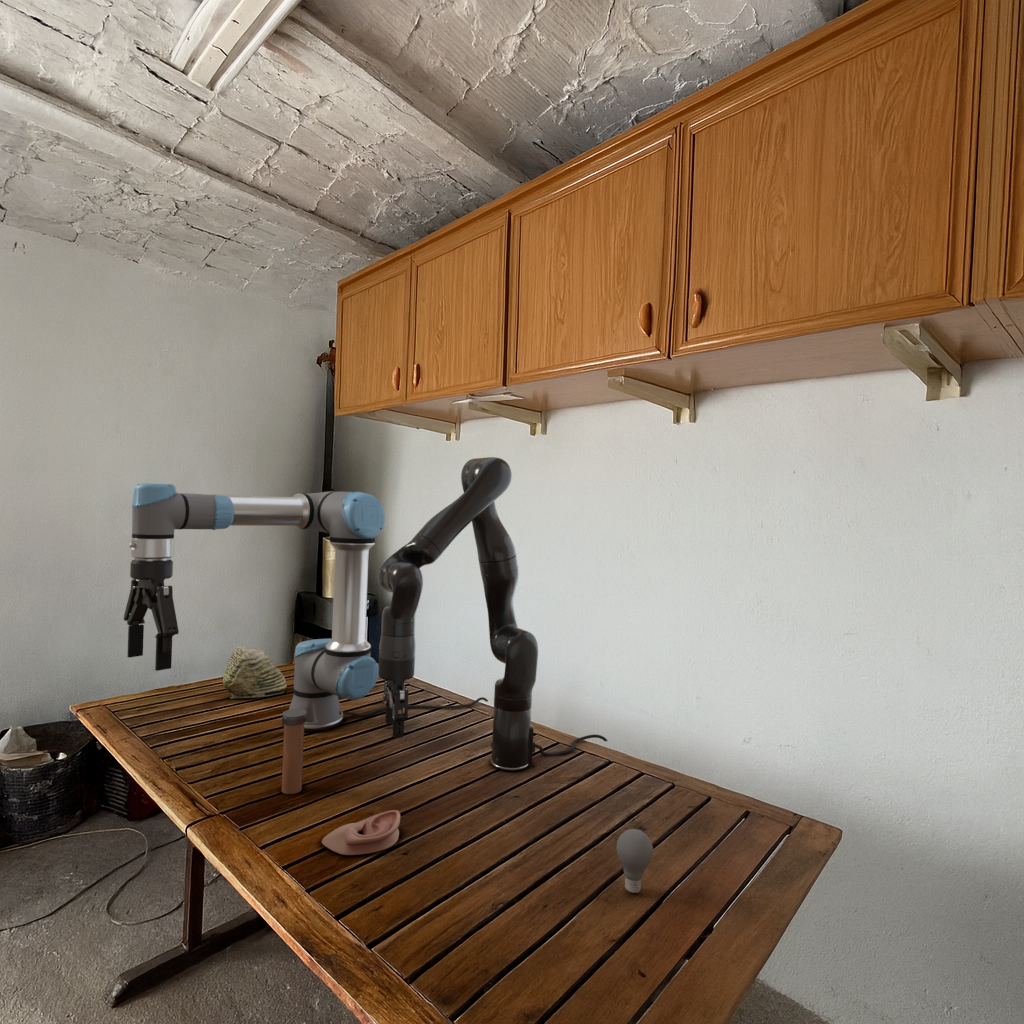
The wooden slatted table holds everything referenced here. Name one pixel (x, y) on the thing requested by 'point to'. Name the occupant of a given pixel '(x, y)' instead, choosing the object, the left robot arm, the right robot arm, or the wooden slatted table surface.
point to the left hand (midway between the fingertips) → (148, 662)
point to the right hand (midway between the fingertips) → (394, 730)
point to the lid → (294, 717)
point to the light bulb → (634, 857)
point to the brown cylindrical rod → (292, 758)
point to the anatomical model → (365, 835)
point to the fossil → (252, 674)
